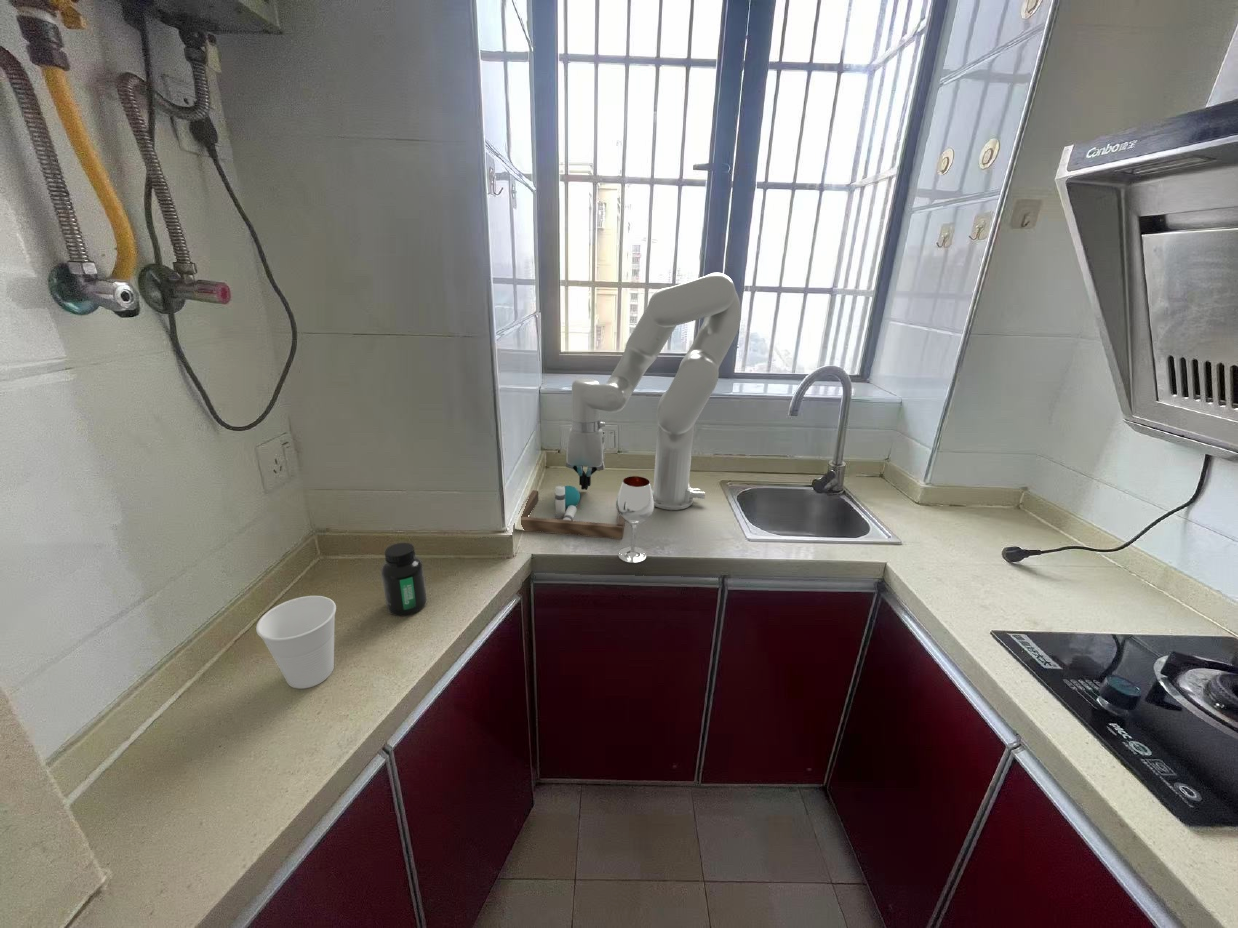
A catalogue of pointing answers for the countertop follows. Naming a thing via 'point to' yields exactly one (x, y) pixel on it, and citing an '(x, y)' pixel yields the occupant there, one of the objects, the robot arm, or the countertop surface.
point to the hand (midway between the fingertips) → (585, 487)
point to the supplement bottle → (403, 580)
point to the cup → (301, 639)
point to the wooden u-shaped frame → (568, 524)
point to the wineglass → (634, 511)
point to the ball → (571, 496)
